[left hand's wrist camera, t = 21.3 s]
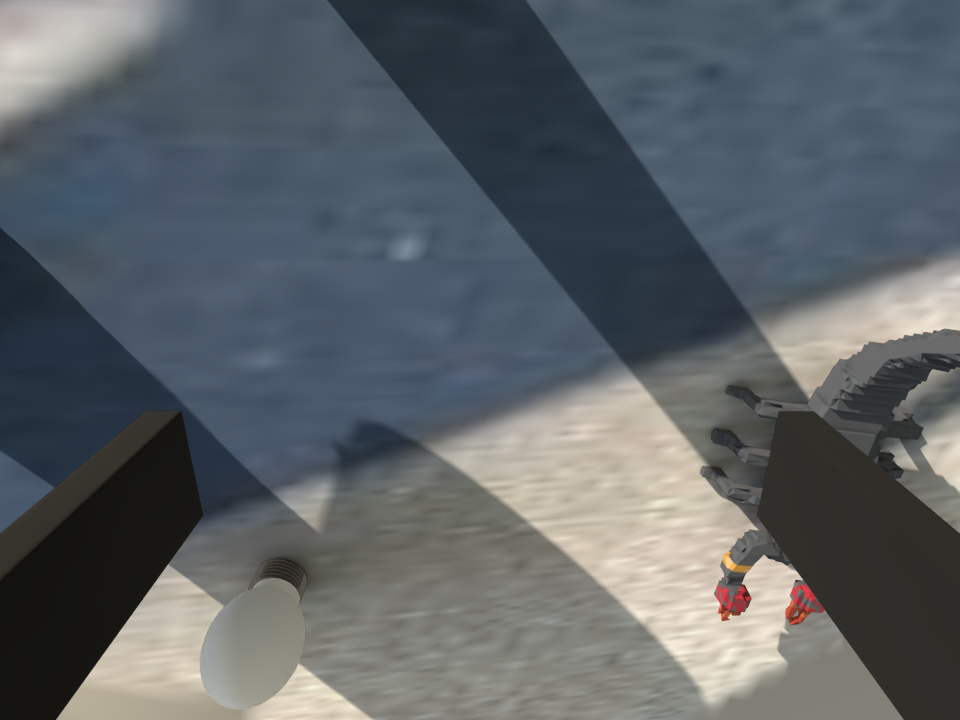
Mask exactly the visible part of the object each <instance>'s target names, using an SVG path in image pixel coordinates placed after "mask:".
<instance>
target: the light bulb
mask: <svg viewBox="0 0 960 720" xmlns="http://www.w3.org/2000/svg"><path fill="white" fill-rule="evenodd" d="M306 584H307V578H306V575H305V573H304V572H303V571H302V570H301V569H300V568H299V567H298V566H297V565H295V564H293V563H291V562H289V561H285V560H279V559H276V560H269V561H266V562H264V563H263V564H262V565H260V567H259V568H258V570H257V572H256V574H255V576H254V578H253V580H252V582H251V584H250V586H249V588H248V591H245V592H243V593H241V594H240V595H238V596H237V597H235V598H234V599H232V600H231V601H230V602H229V603H228V604H227V605H226V606H225V607H224V608H223V609H222V610H221V611H220V612H219V613H218V615H217V616H216V618H215V619H214V621H213V622H212V624H211V626H210V627H209V629H208V631H207V634H206V636H205V638H204V642H203V646H202V650H201V655H200V673H201V677H202V682H203V685H204V687H205V689H206V691H207V692H208V694H209V695H210V697H211V698H212V699H213V700H214V701H215V702H217V703H218V704H220V705H222V706H224V707H227V708H231V709H248V708H251V707H254V706H257V705H260V704H262V703H264V702H266V701H267V700H269V699H270V698H271V697H273V696H274V695H275V694H276V693H278V692H279V691H280V690H281V689H282V688H283V687H284V685H285V684H286V683H287V682H288V680H289V679H290V677H291V676H292V674H293V673H294V671H295V670H296V668H297V665H298V663H299V661H300V658H301V655H302V652H303V648H304V644H305V631H306V627H305V621H304V616H303V612H302V610H301V608H300V606H299V604H300V601H301V598H302V596H303V593H304V590H305V588H306Z"/></svg>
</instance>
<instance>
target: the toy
mask: <svg viewBox="0 0 960 720" xmlns="http://www.w3.org/2000/svg"><path fill="white" fill-rule="evenodd" d="M956 367H960V331H957V330H950V329H943V330H940V331H933V333H927V332H924V333H923V335H920V334H914V335H913V336H907V335H905V336H904V338H903V339H901V338H899V339H897V340H896V341H895V340H889V341H888V342H887V343H884V344H883V343H876V342H869V343H868V345H865V344H864V347H863V349H862V352H858V353H857V355H854V354H853V355H852V357H851V358H849V359H847V360H843V359H840V360H839V361H838V362H837V364H836V365H835V366H834V367H833V368H832V370H831V372H830V374H829V375H828V377H827V378H826V380H825V381H824V383H823V385H822V386H821V387H817V389H816V390H815V392H814V393H813V395H812V397H811V398H810V400H809V401H808V403H807V404H796V403H784V402H780V401H775V400H769V399H764V398H760V397H758V396H756V395H755V394H754V393H753V392H752V391H751V390H749V389H748V388H744V387H736V386H728V388H727V391H726V393H727V394H730V395H732V396H734V397H736V398H739V399H742V400H744V401H745V402H746V403H747V404H748V405H749V406H750V407H751V408H752V409H753V410H754V411H755V414H756V415H757V416H758V417H762V418H772V419H776V420H777V417H778V412H779V411H814V412H815V413H817V414H818V415H819V416H820V417H821V418H823V419H824V420H825V421H826V422H827V423H829V424H830V425H831V426H832V427H833V428H834V429H836V430H837V431H838V432H839V433H840V434H842V435H843V436H844V437H845V438H846V439H848V440H849V441H850V442H851V443H852V444H854V445H855V446H856V447H857V448H858V449H860V450H861V451H862V452H863V453H864V454H865V455H867V456H868V457H869V458H870V459H871V460H873V461H874V462H875V463H876V464H877V465H879V466H880V467H881V468H882V469H883V470H885V471H886V472H887V473H888V474H889V475H891V476H892V477H893V478H894V479H897V478H901V476H902V474H903V471H904V470H903V469H901V468H900V467H899V466H898V465H896V464H895V463H894V462H893V461H891V460H892V459H893V458H894V457H895V456H894V455H893V454H892V453H891V452H889V451H887V450H881V448H882V445H883V443H884V441H885V438H886V437H894V438H905V439H919V437H920V435H921V433H922V430H923V427H921V426H919V425H918V424H916V423H914V422H913V421H911V418H912V416H913V415H914V414H913V413H912V412H911V411H910V410H908V409H904V408H896V407H895V406H897V407H898V406H899V404H900V402H901V401H902V400H905V399H906V397H907V394H908V392H909V391H910V390H912V389H914V388H915V387H916V386H917V385H918V384H921V382H922V381H926V380H927V377H928V375H929V373H930V371H931V370H932V369H935V370H940V371H945V372H949V371H950V369H955V368H956ZM711 440H712V441H713V443H716V444H720V445H723V446H727V447H729V448H730V449H731V450H733V451H734V452H735V454H736V455H737V456H738V457H739V458H740V459H741V460H742V461H743V462H745V463H746V464H752V465H759V466H766V467H767V465H768V460H769V455H770V450H765V449H760V448H754V447H750V446H745V445H743V443H741V442H740V440H739V439H738V438H737V436H736V435H735V434H734V433H732V432H731V431H729V430H721V429H714V431H713V434H712V437H711ZM700 473H701V475H702V477H706V478H710V479H713V480H716V482H717V483H718V485H719V486H720V487H721V489H722V490H723V492H724V493H725V494H726V496H727V497H728V499H729V500H730V501H734V502H739V503H743V504H749V505H755V506H759V503H760V498H761V493H762V489H763V488H757V487H754V486H750V485H745V484H739V483H734V482H733V481H732V480H731V479H729V478H728V477H727V476H726V474H725V473H724V472H723V470H722V469H721V468H714V467H706V466H702V468H701V471H700ZM763 555H766V556H767V557H768V558H769V559H774V560H775V561H778V562H782V563H784V564H785V565H788V564H790V563H791V562H790V561H789V559H788V558H787V557H786V555H785V554H784V552H783V551H782V550H781V548H780V547H779V546H778V544H777V543H776V541H775V540H774V539H773V537H772V536H771V534H769V533H768V532H762V531H756V530H749V531H748V532H745V534H744V536H743V538H742V539H739V538H738V540H737V542H736V544H735V546H734V547H732V549H731V550H730V551H729V552H728V554H724V557H723V560H722V562H721V565H720V567H721V568H722V570H723V572H724V578H722V580H721V581H719V583H718V585H717V588H716V590H715V593H714V595H715V596H716V598H717V599H718V601H719V602H720V604H721V605H720V608H719V611H718V613H721V618H722V621H726V620H730V619H728V616H729V615H730V614H731V613H732V615H740V614H741V612H745V611H746V608H748V606H749V603H750V601H751V596H750V594H749V592H748V591H747V589H746V587H745V585H742V581H743V579H744V577H745V574H746V573H747V572H748V571H749V570H750V569H751V568H752V566H753V565H754V564H755V563H756V562H757V561H758V560H759V559H760V558H761V557H762V556H763ZM790 597H791V598H792V600H791V603H790V606H789V607H788V608H787V609H786V612H785V615H786V619H788V618H789V621H790V625H796V624H799V623H801V622H802V621H803V620H804V619H805V618H806V617H807V615H809V614H810V613H812V612H818V613H823V611H824V608H823V607H822V605H821V604H820V602H819V601H818V600H817V598H816V597H815V595H814V594H813V593H812V591H811V590H810V589H809V587H808V586H807V584H806V583H805V582H804V580H803V581H800V580H795V584H794V587H793V589H792V592H791V594H790ZM797 611H799V613H798V616H796V617H792V616H793V615H794V614H795V613H796V612H797Z"/></svg>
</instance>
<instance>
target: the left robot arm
mask: <svg viewBox="0 0 960 720" xmlns="http://www.w3.org/2000/svg"><path fill="white" fill-rule="evenodd" d="M202 516H203V513H202V508H201V503H200V498H199V493H198V489H197V484H196V479H195V474H194V470H193V465H192V460H191V455H190V450H189V446H188V441H187V436H186V431H185V427H184V422H183V417H182V412H181V411H146V412H145V413H143V414H142V415H141V416H140V417H139V418H137V419H136V420H135V421H134V422H133V423H131V424H130V425H129V426H128V427H127V428H126V429H124V430H123V431H122V432H121V433H120V434H118V435H117V436H116V437H115V438H114V439H112V440H111V441H110V442H109V443H108V444H106V445H105V446H104V447H103V448H102V449H100V450H99V451H98V452H97V453H96V454H95V455H93V456H92V457H91V458H90V459H89V460H87V461H86V462H85V463H84V464H83V465H81V466H80V467H79V468H78V469H77V470H75V471H74V472H73V473H72V474H71V475H69V476H68V477H67V478H66V479H65V480H64V481H62V482H61V483H60V484H59V485H58V486H56V487H55V488H54V489H53V490H52V491H50V492H49V493H48V494H47V495H46V496H44V497H43V498H42V499H41V500H40V501H38V502H37V503H36V504H35V505H34V506H33V507H31V508H30V509H29V510H28V511H27V512H25V513H24V514H23V515H22V516H21V517H19V518H18V519H17V520H16V521H15V522H13V523H12V524H11V525H10V526H9V527H7V528H6V529H5V530H4V531H3V532H1V533H0V720H56V719H57V718H58V716H59V715H60V713H61V712H62V711H63V709H64V708H65V706H66V705H67V704H68V702H69V701H70V700H71V698H72V697H73V695H74V694H75V693H76V691H77V690H78V688H79V687H80V686H81V684H82V683H83V682H84V680H85V679H86V677H87V676H88V675H89V673H90V672H91V670H92V669H93V668H94V666H95V665H96V663H97V662H98V661H99V659H100V658H101V657H102V655H103V654H104V652H105V651H106V650H107V648H108V647H109V645H110V644H111V643H112V641H113V640H114V639H115V637H116V636H117V634H118V633H119V632H120V630H121V629H122V627H123V626H124V625H125V623H126V622H127V620H128V619H129V618H130V616H131V615H132V614H133V612H134V611H135V609H136V608H137V607H138V605H139V604H140V602H141V601H142V600H143V598H144V597H145V595H146V594H147V593H148V591H149V590H150V589H151V587H152V586H153V584H154V583H155V582H156V580H157V579H158V577H159V576H160V575H161V573H162V572H163V571H164V569H165V568H166V566H167V565H168V564H169V562H170V561H171V559H172V558H173V557H174V555H175V554H176V552H177V551H178V550H179V548H180V547H181V546H182V544H183V543H184V541H185V540H186V539H187V537H188V536H189V534H190V533H191V532H192V530H193V529H194V527H195V526H196V525H197V523H198V522H199V521H200V519H201V518H202ZM757 516H758V518H759V519H760V521H761V522H762V523H763V525H764V526H765V527H766V529H767V530H768V532H769V533H770V534H771V536H772V537H773V539H774V540H775V541H776V543H777V544H778V546H779V547H780V548H781V550H782V551H783V552H784V554H785V555H786V557H787V558H788V559H789V561H790V562H791V564H792V565H793V566H794V568H795V569H796V571H797V572H798V573H799V575H800V576H801V577H802V579H803V580H804V582H805V583H806V584H807V586H808V587H809V589H810V590H811V591H812V593H813V594H814V595H815V597H816V598H817V600H818V601H819V602H820V604H821V605H822V607H823V608H824V609H825V611H826V612H827V614H828V615H829V616H830V618H831V619H832V620H833V622H834V623H835V625H836V626H837V627H838V629H839V630H840V632H841V633H842V634H843V636H844V637H845V639H846V640H847V641H848V643H849V644H850V645H851V647H852V648H853V650H854V651H855V652H856V654H857V655H858V657H859V658H860V659H861V661H862V662H863V663H864V665H865V666H866V668H867V669H868V670H869V672H870V673H871V675H872V676H873V677H874V679H875V680H876V681H877V683H878V684H879V686H880V687H881V688H882V690H883V691H884V693H885V694H886V695H887V697H888V698H889V700H890V701H891V702H892V704H893V705H894V706H895V708H896V709H897V711H898V712H899V713H900V715H901V716H902V718H903V719H904V720H960V533H959V532H957V531H956V530H955V529H954V528H953V527H951V526H950V525H949V524H948V523H947V522H945V521H944V520H943V519H942V518H941V517H939V516H938V515H937V514H936V513H935V512H933V511H932V510H931V509H930V508H929V507H927V506H926V505H925V504H924V503H923V502H922V501H920V500H919V499H918V498H917V497H916V496H914V495H913V494H912V493H911V492H910V491H908V490H907V489H906V488H905V487H904V486H902V485H901V484H900V483H899V482H898V481H896V480H895V479H894V478H893V477H892V476H891V475H889V474H888V473H887V472H886V471H885V470H883V469H882V468H881V467H880V466H879V465H877V464H876V463H875V462H874V461H873V460H871V459H870V458H869V457H868V456H867V455H865V454H864V453H863V452H862V451H861V450H860V449H858V448H857V447H856V446H855V445H854V444H852V443H851V442H850V441H849V440H848V439H846V438H845V437H844V436H843V435H842V434H840V433H839V432H838V431H837V430H836V429H834V428H833V427H832V426H831V425H830V424H829V423H827V422H826V421H825V420H824V419H823V418H821V417H820V416H819V415H818V414H817V413H815V412H814V411H779V412H778V417H777V422H776V427H775V431H774V436H773V441H772V446H771V450H770V455H769V460H768V465H767V470H766V474H765V479H764V484H763V489H762V493H761V498H760V503H759V508H758V513H757Z"/></svg>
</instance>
